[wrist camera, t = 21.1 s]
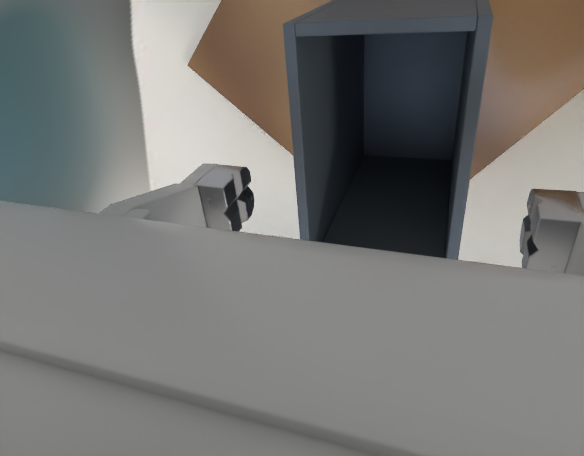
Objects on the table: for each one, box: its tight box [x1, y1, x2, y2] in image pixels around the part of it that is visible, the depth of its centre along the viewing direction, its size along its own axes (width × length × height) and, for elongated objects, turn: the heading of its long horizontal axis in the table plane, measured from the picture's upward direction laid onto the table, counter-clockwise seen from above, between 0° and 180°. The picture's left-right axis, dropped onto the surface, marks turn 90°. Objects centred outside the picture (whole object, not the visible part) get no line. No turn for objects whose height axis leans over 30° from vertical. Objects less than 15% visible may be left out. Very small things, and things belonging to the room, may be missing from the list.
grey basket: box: [283, 0, 494, 260], centre depth 20 cm, size 12×6×10 cm
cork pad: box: [188, 0, 584, 179], centre depth 24 cm, size 20×18×1 cm
